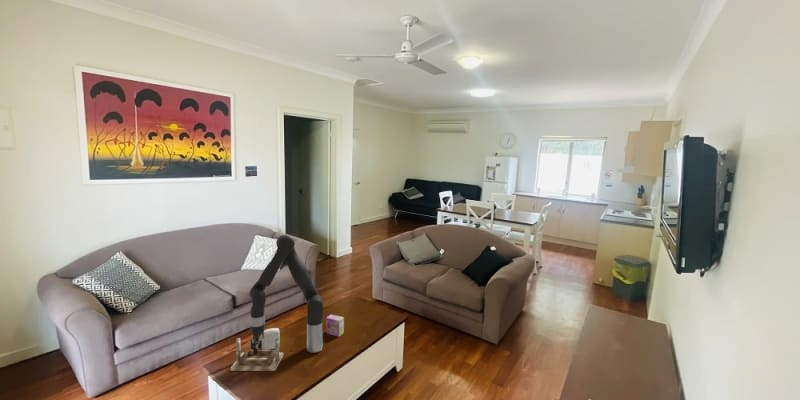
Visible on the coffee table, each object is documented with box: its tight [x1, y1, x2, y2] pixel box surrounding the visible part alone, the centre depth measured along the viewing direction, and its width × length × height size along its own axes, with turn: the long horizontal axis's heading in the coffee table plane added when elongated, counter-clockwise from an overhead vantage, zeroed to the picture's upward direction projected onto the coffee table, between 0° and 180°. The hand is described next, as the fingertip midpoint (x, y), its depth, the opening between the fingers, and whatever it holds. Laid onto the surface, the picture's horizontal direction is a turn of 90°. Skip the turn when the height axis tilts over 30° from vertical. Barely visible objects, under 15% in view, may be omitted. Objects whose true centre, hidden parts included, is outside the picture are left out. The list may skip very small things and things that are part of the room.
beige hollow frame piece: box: [230, 337, 284, 372], centre depth 185 cm, size 24×15×14 cm, turn 93°
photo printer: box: [261, 327, 281, 350], centre depth 200 cm, size 10×4×12 cm, turn 116°
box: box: [325, 314, 345, 338], centre depth 219 cm, size 10×6×12 cm, turn 68°
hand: (257, 351), depth 185 cm, fingers open, 5 cm apart
